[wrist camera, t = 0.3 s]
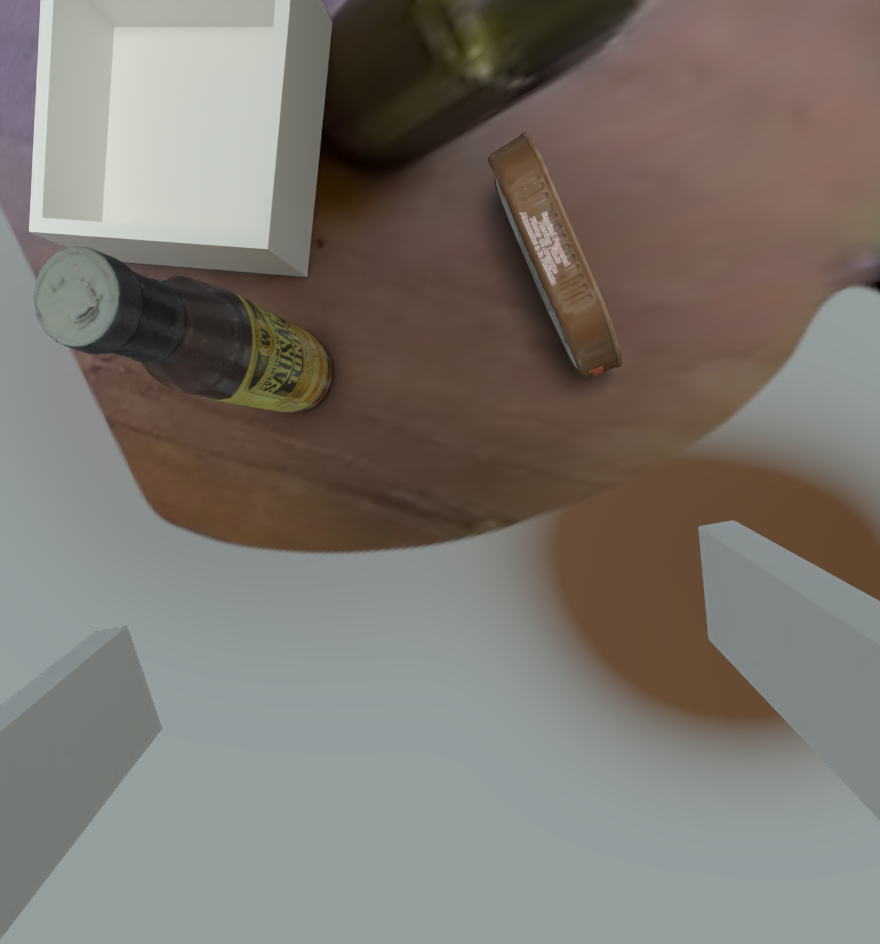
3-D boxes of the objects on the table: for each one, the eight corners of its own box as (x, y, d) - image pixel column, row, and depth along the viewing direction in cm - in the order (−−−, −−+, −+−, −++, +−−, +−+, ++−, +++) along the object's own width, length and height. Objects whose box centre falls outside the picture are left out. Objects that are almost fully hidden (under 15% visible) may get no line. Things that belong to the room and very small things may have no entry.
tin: (615, 372, 36) (640, 353, 28) (572, 391, 37) (584, 378, 28) (529, 172, 36) (528, 94, 28) (487, 194, 37) (474, 124, 28)
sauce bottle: (340, 410, 40) (155, 385, 20) (264, 416, 41) (18, 399, 21) (333, 322, 39) (136, 211, 20) (256, 332, 40) (-1, 234, 21)
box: (113, 22, 41) (43, -48, 35) (332, 22, 38) (295, -55, 32) (99, 260, 42) (28, 231, 36) (307, 277, 39) (267, 249, 33)
